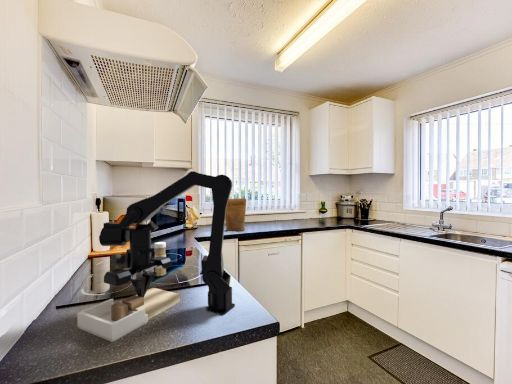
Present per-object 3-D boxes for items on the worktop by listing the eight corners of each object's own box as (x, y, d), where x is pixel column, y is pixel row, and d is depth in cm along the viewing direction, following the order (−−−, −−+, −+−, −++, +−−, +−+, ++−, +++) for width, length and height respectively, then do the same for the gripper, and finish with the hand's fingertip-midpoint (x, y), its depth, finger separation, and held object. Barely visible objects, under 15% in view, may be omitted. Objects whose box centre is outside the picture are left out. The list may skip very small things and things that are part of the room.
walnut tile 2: (144, 304, 72) (143, 297, 72) (131, 310, 69) (131, 303, 69) (134, 302, 74) (134, 295, 74) (122, 307, 70) (121, 300, 70)
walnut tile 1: (127, 305, 68) (121, 308, 66) (127, 319, 68) (121, 323, 66) (118, 302, 69) (111, 305, 68) (118, 316, 69) (111, 320, 68)
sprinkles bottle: (163, 272, 109) (162, 241, 109) (168, 274, 106) (167, 242, 106) (152, 274, 105) (152, 242, 105) (157, 277, 102) (157, 244, 102)
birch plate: (180, 301, 80) (179, 294, 80) (145, 321, 68) (145, 312, 68) (153, 295, 85) (153, 287, 85) (116, 311, 73) (116, 303, 73)
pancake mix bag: (247, 231, 213) (246, 198, 213) (224, 232, 211) (223, 198, 210) (246, 230, 219) (246, 198, 219) (224, 230, 217) (224, 198, 217)
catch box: (148, 322, 68) (147, 307, 68) (112, 342, 59) (112, 325, 59) (114, 311, 74) (114, 297, 74) (77, 327, 65) (77, 312, 65)
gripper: (148, 237, 86) (148, 283, 86) (91, 249, 69) (91, 306, 69) (172, 240, 81) (172, 289, 81) (117, 254, 64) (117, 315, 64)
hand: (141, 298), depth 74 cm, fingers closed
